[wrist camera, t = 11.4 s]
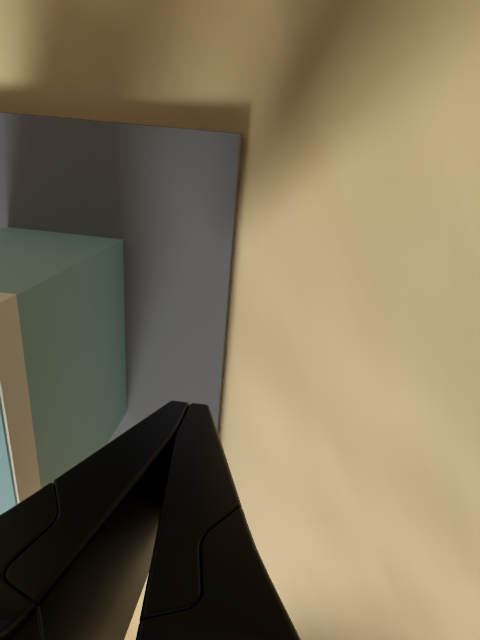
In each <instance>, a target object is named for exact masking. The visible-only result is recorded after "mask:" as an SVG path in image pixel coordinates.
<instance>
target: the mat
mask: <svg viewBox="0 0 480 640" xmlns="http://www.w3.org/2000/svg"><path fill="white" fill-rule="evenodd" d="M241 145H242V134H237V133H226V132H215V131H204V130H192V129H181V128H170V127H159V126H148V125H137V124H125V123H114V122H103V121H92V120H81V119H70V118H58V117H47V116H36V115H25V114H14V113H3V112H0V229H2V228H6V227H12V228H21V229H30V230H39V231H49V232H58V233H67V234H77V235H86V236H95V237H104V238H114V239H123V257H124V303H125V350H126V396H127V412H126V414H125V415H124V417H123V419H122V420H121V422H120V424H119V425H118V427H117V429H116V430H115V432H114V434H113V435H112V437H111V438H110V440H109V442H111V441H112V440H114V439H115V438H117V437H118V436H120V435H121V434H123V433H124V432H126V431H127V430H128V429H130V428H131V427H133V426H134V425H136V424H137V423H139V422H140V421H142V420H143V419H145V418H146V417H148V416H149V415H151V414H152V413H154V412H155V411H157V410H158V409H159V408H161V407H162V406H164V405H165V404H167V403H168V402H170V401H173V400H174V401H182V402H188V403H189V404H191V403H198V404H206V405H208V406H209V407H210V410H211V413H212V416H213V419H214V422H215V425H216V428H217V432H218V434H219V422H220V409H221V397H222V384H223V371H224V359H225V346H226V334H227V321H228V309H229V296H230V284H231V271H232V258H233V246H234V233H235V221H236V208H237V196H238V183H239V170H240V158H241ZM109 442H108V443H109ZM108 443H107V444H108Z"/></svg>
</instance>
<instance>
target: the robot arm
mask: <svg viewBox="0 0 480 640" xmlns="http://www.w3.org/2000/svg"><path fill="white" fill-rule="evenodd" d="M53 483H54V484H53ZM53 483H52V482H50V483H49V484H47V485H46V486H44V487H43V488H41V489H40V490H38V491H37V492H35V493H34V494H32V495H31V496H29V497H28V498H26V499H24V500H23V501H21V502H20V503H18V504H17V505H15V506H14V507H12V508H11V509H9V510H7V511H6V512H4V513H2V514H1V515H0V640H124V638H125V636H126V633H127V630H128V627H129V625H130V622H131V619H132V617H133V614H134V611H135V608H136V606H137V603H138V600H139V597H140V595H141V592H142V589H143V587H144V584H145V581H146V578H147V576H148V580H147V585H146V590H145V595H144V601H143V606H142V611H141V616H140V624H139V627H138V632H137V637H136V640H301V639H300V637H299V635H298V633H297V631H296V629H295V627H294V625H293V623H292V621H291V619H290V617H289V615H288V613H287V611H286V609H285V607H284V605H283V603H282V601H281V599H280V597H279V595H278V593H277V591H276V589H275V587H274V585H273V583H272V581H271V579H270V577H269V575H268V573H267V570H266V568H265V566H264V564H263V562H262V559H261V557H260V555H259V553H258V551H257V548H256V546H255V543H254V540H253V538H252V535H251V532H250V530H249V527H248V524H247V521H246V518H245V515H244V512H243V509H242V506H241V503H240V500H239V497H238V494H237V491H236V487H235V484H234V481H233V478H232V475H231V472H230V469H229V466H228V463H227V460H226V456H225V453H224V450H223V447H222V444H221V441H220V438H219V435H218V432H217V428H216V425H215V422H214V419H213V416H212V413H211V410H210V407H209V406H208V405H206V404H198V403H191V404H189V403H188V402H182V401H174V400H173V401H170V402H168V403H167V404H165V405H164V406H162V407H161V408H159V409H158V410H157V411H155V412H154V413H152V414H151V415H149V416H148V417H146V418H145V419H143V420H142V421H140V422H139V423H137V424H136V425H134V426H133V427H131V428H130V429H128V430H127V431H126V432H124V433H123V434H121V435H120V436H118V437H117V438H115V439H114V440H112V441H111V442H109V443H108V444H106V445H105V446H103V447H102V448H100V449H99V450H97V451H96V452H95V453H93V454H92V455H90V456H89V457H87V458H86V459H84V460H83V461H81V462H80V463H78V464H77V465H75V466H74V467H72V468H71V469H69V470H68V471H66V472H65V473H64V474H62V475H61V476H59V477H58V478H56V479H55V480H54V482H53ZM148 573H149V575H148Z"/></svg>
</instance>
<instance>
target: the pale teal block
mask: <svg viewBox="0 0 480 640" xmlns="http://www.w3.org/2000/svg"><path fill="white" fill-rule="evenodd" d="M126 412H127V396H126V350H125V303H124V257H123V239H114V238H104V237H95V236H86V235H77V234H67V233H58V232H49V231H39V230H30V229H21V228H12V227H6V228H2V229H0V515H1V514H2V513H4V512H6V511H7V510H9V509H11V508H12V507H14V506H15V505H17V504H18V503H20V502H21V501H23V500H24V499H26V498H28V497H29V496H31V495H32V494H34V493H35V492H37V491H38V490H40V489H41V488H43V487H44V486H46V485H47V484H49V483H50V482H52V483H53V482H54V480H55V479H56V478H58V477H59V476H61V475H62V474H64V473H65V472H66V471H68V470H69V469H71V468H72V467H74V466H75V465H77V464H78V463H80V462H81V461H83V460H84V459H86V458H87V457H89V456H90V455H92V454H93V453H95V452H96V451H97V450H99V449H100V448H102V447H103V446H105V445H106V444H107V443H108V442H109V440H110V438H111V437H112V435H113V434H114V432H115V430H116V429H117V427H118V425H119V424H120V422H121V420H122V419H123V417H124V415H125V414H126ZM53 484H54V483H53Z"/></svg>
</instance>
